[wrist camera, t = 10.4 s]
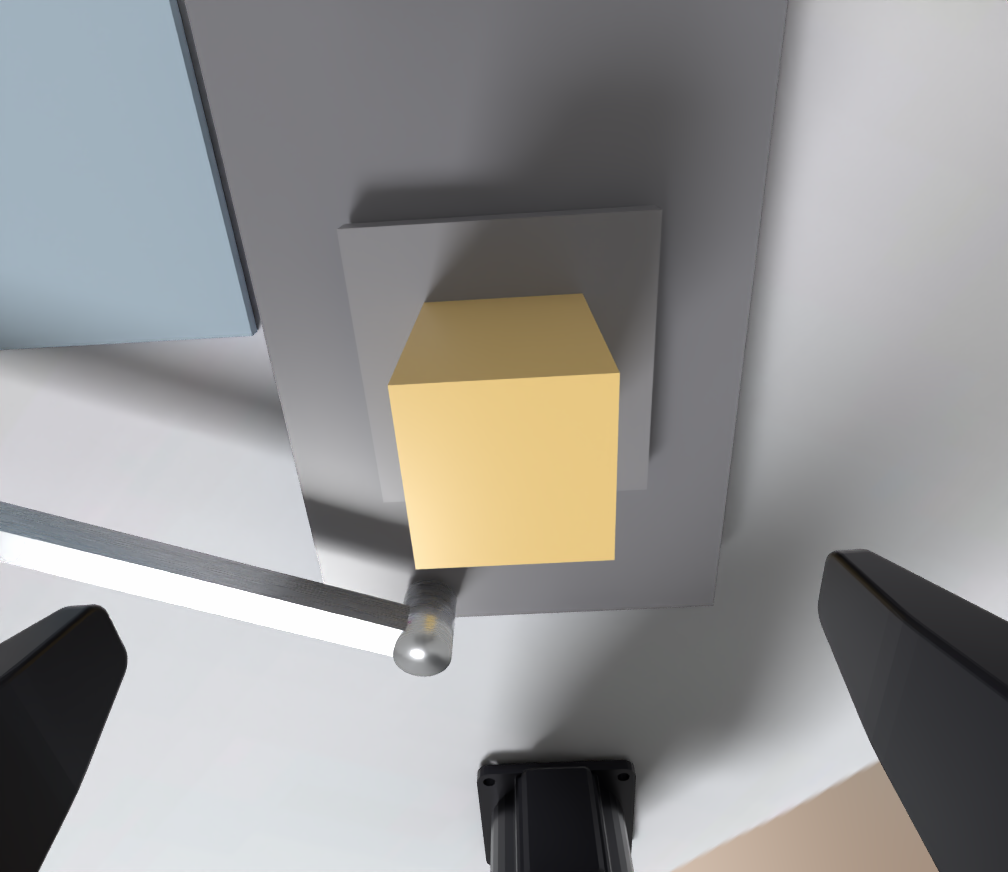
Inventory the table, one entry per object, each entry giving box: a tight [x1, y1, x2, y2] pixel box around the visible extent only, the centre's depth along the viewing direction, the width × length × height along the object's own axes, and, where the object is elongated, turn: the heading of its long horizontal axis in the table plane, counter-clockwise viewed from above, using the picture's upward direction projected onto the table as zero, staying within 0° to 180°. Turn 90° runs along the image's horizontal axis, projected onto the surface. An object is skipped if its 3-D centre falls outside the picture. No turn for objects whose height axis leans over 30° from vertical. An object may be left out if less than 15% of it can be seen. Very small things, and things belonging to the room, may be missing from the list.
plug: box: [337, 205, 662, 569], centre depth 14 cm, size 7×7×8 cm
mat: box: [0, 0, 257, 350], centre depth 16 cm, size 8×8×1 cm
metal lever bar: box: [0, 501, 457, 676], centre depth 17 cm, size 18×2×2 cm, turn 71°
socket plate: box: [184, 0, 788, 617], centre depth 17 cm, size 17×12×2 cm
